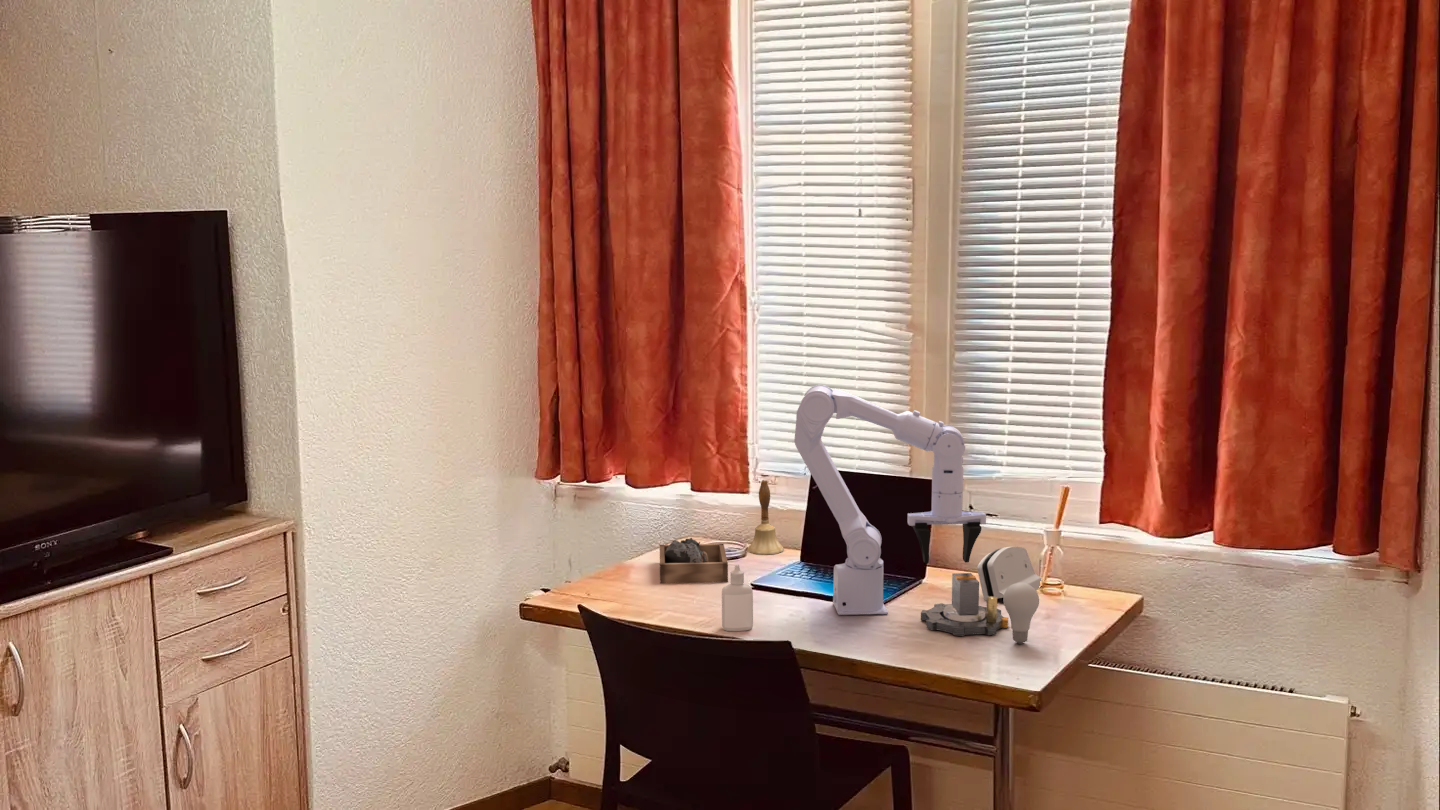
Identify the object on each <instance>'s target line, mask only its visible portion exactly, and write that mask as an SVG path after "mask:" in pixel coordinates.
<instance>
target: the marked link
mask: <svg viewBox="0 0 1440 810" xmlns="http://www.w3.org/2000/svg"><path fill="white" fill-rule="evenodd" d="M951 577H952V578H951V604H952V606H953V607H954V608H955V610H956V611H957V612H958V613H959V615H967V614H978V613H979V606H980V580H979V581H978V579H977V577H976V576H975V575H973V574H972V573H971V572H966V573H964V572H963V573H961V572H960V573H959V572H957V573H952V576H951Z"/></svg>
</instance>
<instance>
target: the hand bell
mask: <svg viewBox="0 0 1440 810" xmlns="http://www.w3.org/2000/svg"><path fill="white" fill-rule="evenodd" d="M758 500H759V501H758V502H759V504H760V509H761V510H760V511H761V512H760V513H761V517H760V520H761V521H760V522H761V523H760V524H758V525H757V526H755V529H754V530H755V531H754V537H753V540H752V542H751V544H750V545H749V546H748V547H747V549H746V550H747V552H749V553H750V554H753V555H761V556H763V555H764V556H768V555H776V554H780V553H782V552H784V551H785V549H784V547H783V545H782V544H781V543H780V542H779V540H778V538H777V537H778V536H777V534H776V527H775V526H774V525H771V524H770V521H769V519H770V517H769V506H770V502H771V490H770V487H769V484H768V481H767V480H762V481H761V483H760V486H759V489H758Z"/></svg>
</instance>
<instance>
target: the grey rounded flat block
mask: <svg viewBox="0 0 1440 810" xmlns="http://www.w3.org/2000/svg"><path fill="white" fill-rule="evenodd" d="M1033 566H1034V565H1033V564H1032V562H1031V558H1030V556H1029V553H1028V551H1027V549H1026V548H1025V547H1022V546H1007V547H1006V546H1005V547H1000V548H998V549H995V550H993V551H991V552H989V553H987V554H986V555H985V556H983V557H982V559H981V560H980V561H979V563H978V564H977V566H976V568H977V573H978V579H979V585H980V588H981V593H982V597H983V601H985V600H986V602H987V597H988V596H994V597H997V600H998V599H1002V598H1003V597H1004V593H1005V591H1006V590H1007V588H1008V587H1009V586H1011V585H1013V584H1015V583H1027V584H1029V585H1031V586H1032V587H1033V588H1034V589H1035V590H1036V591H1037V590H1039V589H1040V588H1039V586H1040V581H1041V579H1042V577H1041V576H1039V575H1037V574H1036V572H1035V569H1034V567H1033ZM1038 588H1039V589H1038Z"/></svg>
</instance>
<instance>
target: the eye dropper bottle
mask: <svg viewBox="0 0 1440 810" xmlns="http://www.w3.org/2000/svg"><path fill="white" fill-rule="evenodd" d="M744 582H745V572H744V571H742V570H741V568H740V564H738V563H737V564H735V565H734V569H733V570H732V571H731V572H730V583H729V584H727V585H724V586H723V587H722V589H721V627H722V629H723V630H724V631H727V632H744V631H745V632H746V631H750V630H752V629H753V627H754V595H753V594H754V591H753V589H752V586H751V585H749V584H746V583H744Z"/></svg>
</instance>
